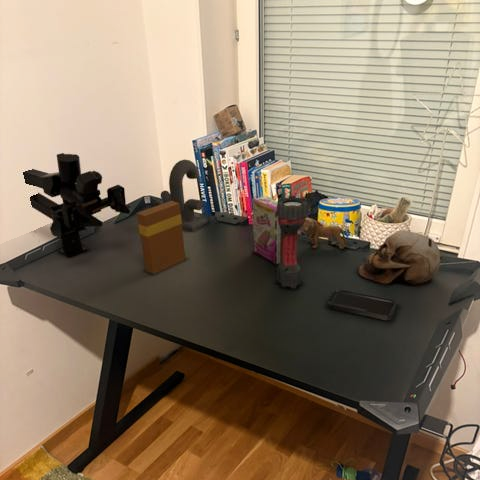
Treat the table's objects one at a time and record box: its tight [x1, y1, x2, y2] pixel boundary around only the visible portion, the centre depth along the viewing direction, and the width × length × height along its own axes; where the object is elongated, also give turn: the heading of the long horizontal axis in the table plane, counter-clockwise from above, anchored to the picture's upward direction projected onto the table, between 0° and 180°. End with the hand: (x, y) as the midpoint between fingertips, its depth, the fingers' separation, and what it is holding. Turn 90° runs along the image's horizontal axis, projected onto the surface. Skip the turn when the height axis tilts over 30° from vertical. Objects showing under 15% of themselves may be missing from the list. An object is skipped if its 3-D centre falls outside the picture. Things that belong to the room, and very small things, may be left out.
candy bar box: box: [251, 195, 281, 265], centre depth 137 cm, size 11×5×16 cm, turn 35°
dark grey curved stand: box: [160, 159, 208, 232], centre depth 164 cm, size 18×16×20 cm
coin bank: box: [358, 229, 441, 286], centre depth 125 cm, size 16×17×13 cm
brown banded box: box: [136, 201, 186, 275], centre depth 135 cm, size 4×12×17 cm, turn 137°
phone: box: [327, 289, 397, 321], centre depth 116 cm, size 8×1×15 cm
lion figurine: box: [300, 217, 350, 250], centre depth 144 cm, size 15×5×9 cm, turn 87°
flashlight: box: [276, 194, 309, 290], centre depth 121 cm, size 8×8×23 cm
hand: (115, 217), depth 127 cm, fingers open, 9 cm apart
